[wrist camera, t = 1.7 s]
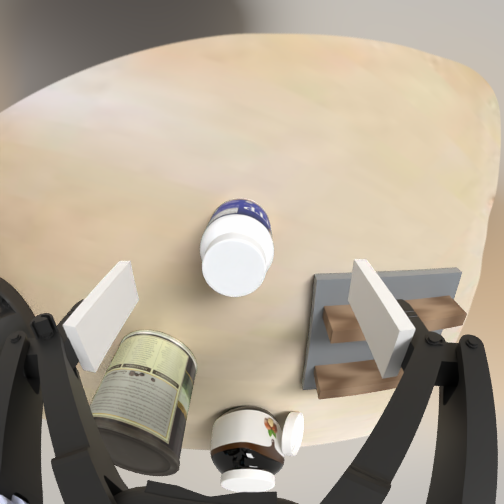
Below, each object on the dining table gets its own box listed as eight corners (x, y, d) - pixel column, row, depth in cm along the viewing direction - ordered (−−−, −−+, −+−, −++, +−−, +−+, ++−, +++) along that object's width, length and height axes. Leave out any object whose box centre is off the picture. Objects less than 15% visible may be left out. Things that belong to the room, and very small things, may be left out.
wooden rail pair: (313, 374, 32) (318, 399, 28) (324, 306, 28) (333, 330, 24) (425, 358, 31) (437, 378, 28) (449, 295, 27) (466, 313, 24)
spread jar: (206, 411, 37) (197, 479, 26) (268, 383, 34) (272, 461, 23) (257, 441, 40) (258, 500, 30) (316, 417, 38) (326, 482, 27)
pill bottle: (281, 233, 26) (293, 281, 18) (233, 262, 27) (225, 319, 19) (248, 184, 24) (245, 212, 16) (199, 217, 25) (174, 259, 17)
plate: (301, 383, 34) (302, 389, 33) (314, 273, 28) (316, 279, 26) (420, 366, 34) (423, 372, 33) (456, 267, 27) (461, 272, 26)
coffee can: (213, 377, 33) (200, 476, 21) (151, 391, 35) (126, 475, 22) (166, 317, 30) (126, 423, 17) (105, 340, 32) (58, 425, 19)
